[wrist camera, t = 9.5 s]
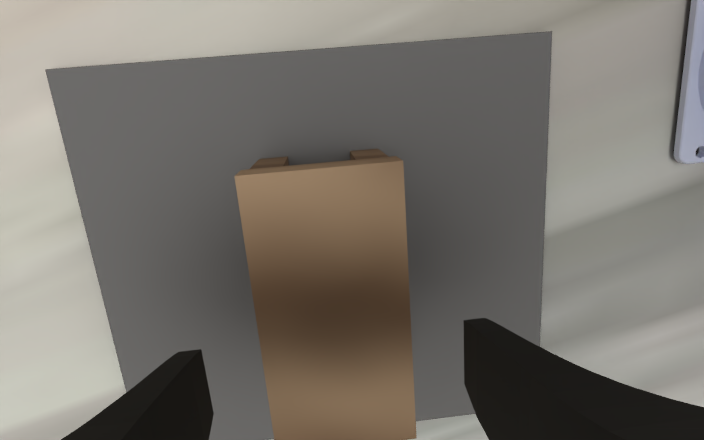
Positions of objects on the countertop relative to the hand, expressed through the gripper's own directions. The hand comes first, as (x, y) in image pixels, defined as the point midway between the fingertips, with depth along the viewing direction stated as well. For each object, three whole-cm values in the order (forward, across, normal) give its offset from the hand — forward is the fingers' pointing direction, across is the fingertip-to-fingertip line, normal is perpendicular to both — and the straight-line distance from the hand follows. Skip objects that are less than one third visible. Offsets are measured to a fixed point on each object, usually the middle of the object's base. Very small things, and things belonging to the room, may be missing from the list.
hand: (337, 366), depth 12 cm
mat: (+8, 0, 0) cm, 8 cm away
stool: (+8, 0, 0) cm, 8 cm away
